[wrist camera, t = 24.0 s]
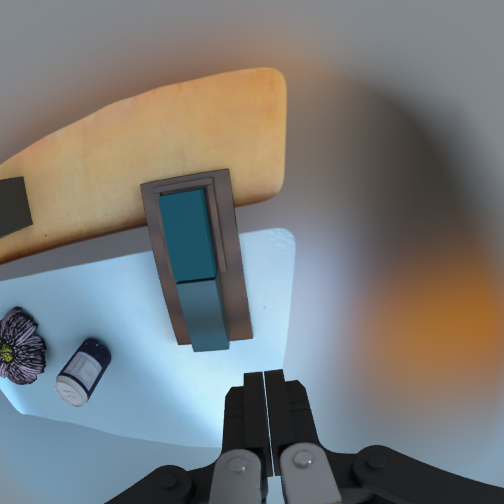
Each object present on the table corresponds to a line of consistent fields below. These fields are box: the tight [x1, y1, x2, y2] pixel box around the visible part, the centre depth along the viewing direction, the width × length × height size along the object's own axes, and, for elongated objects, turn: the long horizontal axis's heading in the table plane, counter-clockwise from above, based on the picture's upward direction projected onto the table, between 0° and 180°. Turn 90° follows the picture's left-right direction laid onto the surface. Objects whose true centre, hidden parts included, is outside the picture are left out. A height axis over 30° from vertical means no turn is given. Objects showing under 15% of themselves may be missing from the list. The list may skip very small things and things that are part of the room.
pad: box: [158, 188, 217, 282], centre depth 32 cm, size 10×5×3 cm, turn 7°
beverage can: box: [55, 338, 111, 407], centre depth 34 cm, size 6×6×12 cm
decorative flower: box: [0, 307, 47, 385], centre depth 35 cm, size 15×12×15 cm
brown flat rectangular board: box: [140, 169, 253, 352], centre depth 34 cm, size 23×11×4 cm, turn 7°
